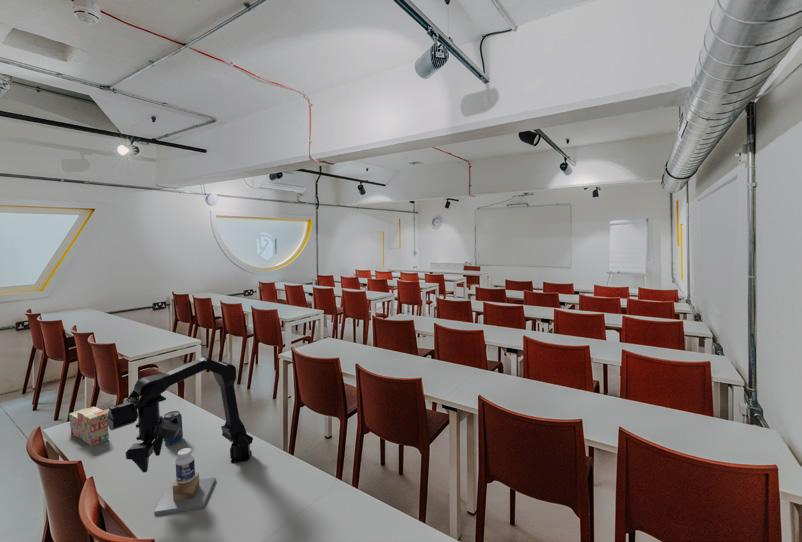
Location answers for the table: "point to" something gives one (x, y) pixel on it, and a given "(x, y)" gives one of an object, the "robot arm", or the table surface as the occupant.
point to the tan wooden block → (186, 489)
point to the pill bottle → (185, 466)
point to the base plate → (186, 504)
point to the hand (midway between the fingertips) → (151, 463)
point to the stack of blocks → (90, 425)
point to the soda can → (180, 433)
